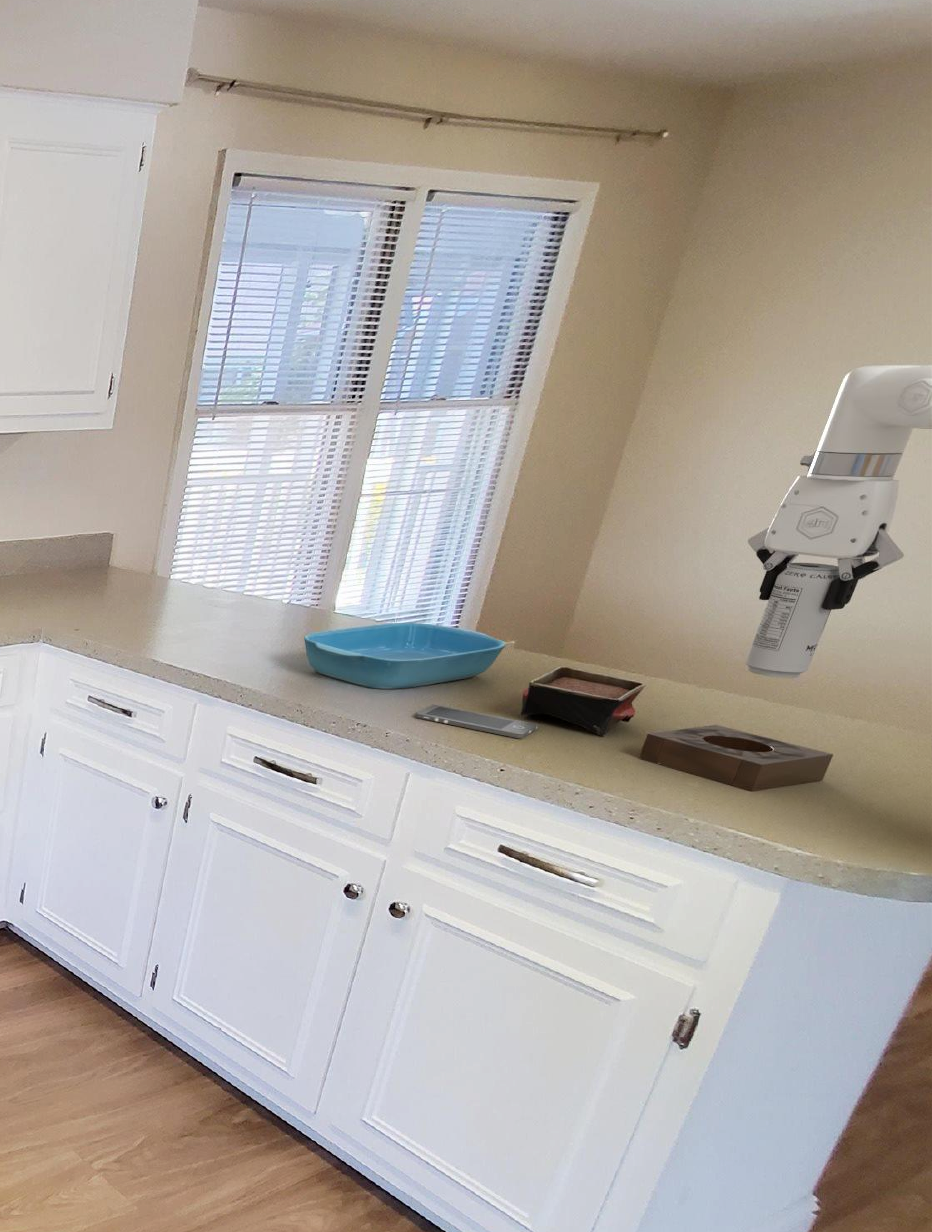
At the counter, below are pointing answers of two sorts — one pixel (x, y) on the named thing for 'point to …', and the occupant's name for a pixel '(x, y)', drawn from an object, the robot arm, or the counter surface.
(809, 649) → the energy drink can
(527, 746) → the counter surface
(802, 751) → the holder
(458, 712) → the smartphone
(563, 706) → the dark brown bonsai pot
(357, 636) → the casserole dish
